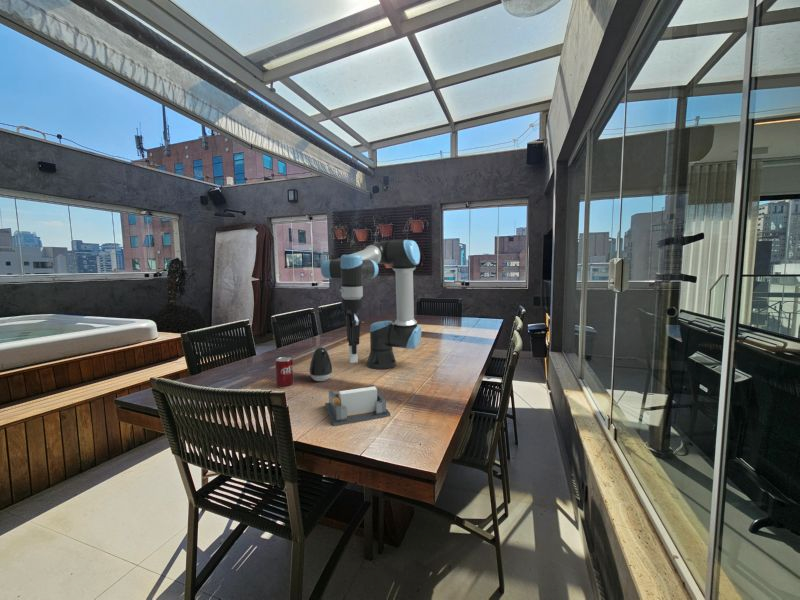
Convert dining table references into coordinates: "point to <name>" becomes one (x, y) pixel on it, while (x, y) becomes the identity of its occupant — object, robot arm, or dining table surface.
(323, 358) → the dark grey egg shape
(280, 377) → the soda can
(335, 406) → the rack
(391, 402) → the dining table surface
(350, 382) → the dining table surface
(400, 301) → the robot arm
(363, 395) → the panel
